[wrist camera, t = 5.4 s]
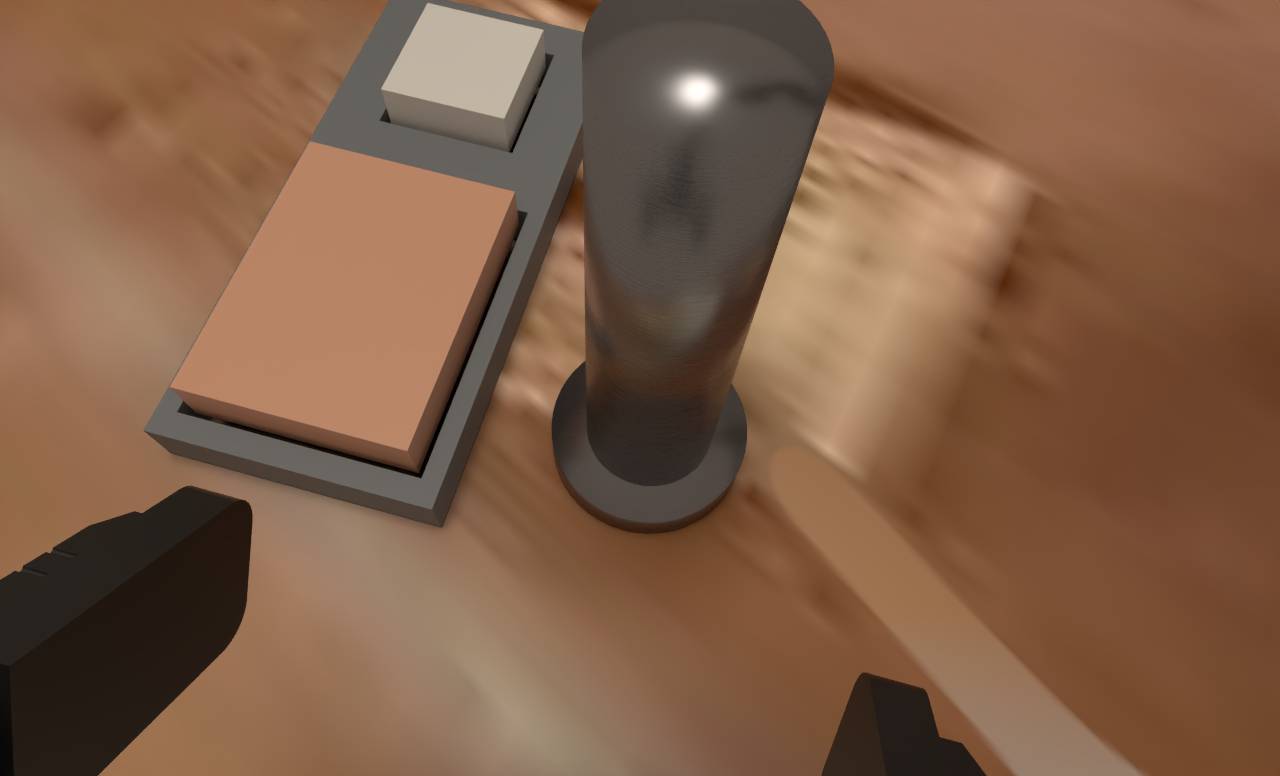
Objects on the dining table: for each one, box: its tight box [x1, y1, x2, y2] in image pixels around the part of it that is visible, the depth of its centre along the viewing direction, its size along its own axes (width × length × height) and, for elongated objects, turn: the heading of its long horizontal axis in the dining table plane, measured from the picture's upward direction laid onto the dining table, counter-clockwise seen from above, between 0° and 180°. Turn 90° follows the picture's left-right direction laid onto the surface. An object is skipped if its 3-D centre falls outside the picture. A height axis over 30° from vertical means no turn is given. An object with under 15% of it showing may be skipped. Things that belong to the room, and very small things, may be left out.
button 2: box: [381, 3, 546, 152], centre depth 35 cm, size 5×5×2 cm
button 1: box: [170, 141, 519, 473], centre depth 30 cm, size 8×11×2 cm
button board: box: [144, 0, 584, 528], centre depth 33 cm, size 10×22×2 cm, turn 165°
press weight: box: [552, 0, 834, 533], centre depth 23 cm, size 7×7×18 cm
